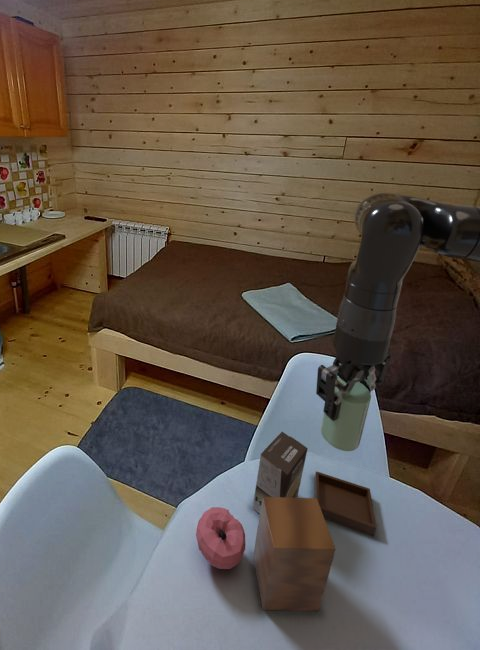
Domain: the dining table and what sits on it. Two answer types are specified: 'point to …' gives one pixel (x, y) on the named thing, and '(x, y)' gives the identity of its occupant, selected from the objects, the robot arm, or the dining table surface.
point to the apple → (220, 538)
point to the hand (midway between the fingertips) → (345, 410)
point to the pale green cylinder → (348, 419)
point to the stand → (292, 554)
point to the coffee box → (280, 469)
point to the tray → (345, 503)
